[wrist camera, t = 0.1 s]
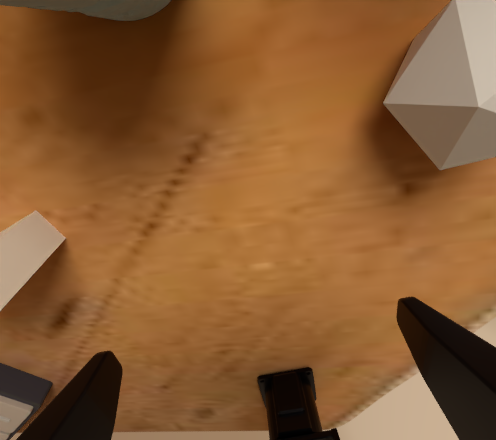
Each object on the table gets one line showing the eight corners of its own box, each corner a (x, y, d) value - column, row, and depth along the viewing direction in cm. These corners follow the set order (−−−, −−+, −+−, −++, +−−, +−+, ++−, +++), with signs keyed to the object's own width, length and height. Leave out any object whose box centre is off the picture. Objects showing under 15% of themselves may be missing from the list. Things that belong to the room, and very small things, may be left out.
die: (339, 118, 21) (448, 223, 16) (393, -43, 13) (627, 71, 9) (425, 85, 23) (543, 170, 18) (515, -71, 15) (755, 9, 11)
